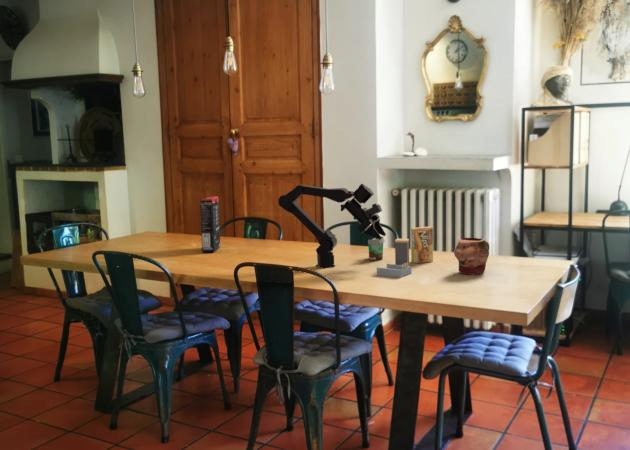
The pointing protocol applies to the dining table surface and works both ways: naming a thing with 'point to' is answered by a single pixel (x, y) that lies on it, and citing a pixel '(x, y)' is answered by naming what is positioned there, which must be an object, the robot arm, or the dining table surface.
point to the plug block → (401, 251)
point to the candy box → (422, 244)
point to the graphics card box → (210, 224)
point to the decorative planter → (472, 255)
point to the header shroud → (395, 270)
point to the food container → (376, 249)
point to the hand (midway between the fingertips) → (383, 237)
